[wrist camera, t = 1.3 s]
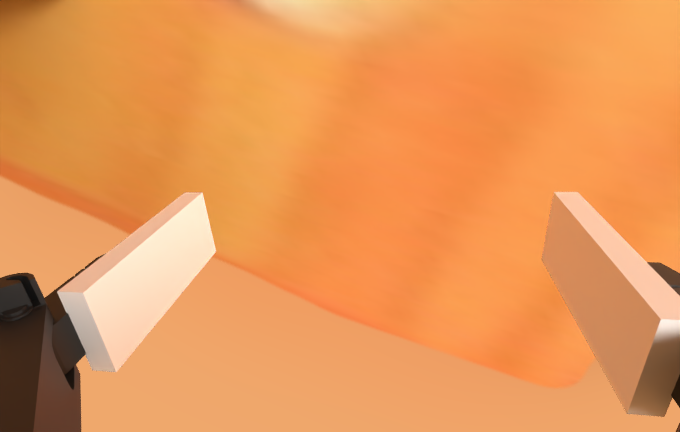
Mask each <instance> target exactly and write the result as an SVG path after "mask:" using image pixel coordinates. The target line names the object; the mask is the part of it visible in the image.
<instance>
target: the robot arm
mask: <svg viewBox="0 0 680 432" xmlns="http://www.w3.org/2000/svg"><path fill="white" fill-rule="evenodd" d="M215 252H216V249H215V245H214V240H213V236H212V232H211V227H210V223H209V219H208V214H207V210H206V206H205V201H204V197H203V193H202V192H185V193H183V194H182V195H181V196H180V197H178V198H177V199H176V200H174V201H173V202H172V203H171V204H169V205H168V206H167V207H165V208H164V209H163V210H162V211H160V212H159V213H158V214H156V215H155V216H154V217H153V218H151V219H150V220H149V221H147V222H146V223H145V224H143V225H142V226H141V227H140V228H138V229H137V230H136V231H134V232H133V233H132V234H131V235H129V236H128V237H127V238H125V239H124V240H123V241H122V242H120V243H119V244H118V245H116V246H115V247H114V248H113V249H111V250H110V251H109V252H107V253H106V254H104V255H102V256H100V257H98V258H96V259H95V260H94V261H92V262H91V263H90V264H89V265H87V266H86V267H85V269H82V270H81V271H79V272H78V273H77V274H76V275H75V276H73V277H72V278H70V279H69V280H67V281H66V282H65V283H64V284H62V285H61V286H60V287H58V288H57V289H56V290H54V291H53V292H52V293H51V294H49V295H48V296H47V297H45V298H44V297H43V294H42V293H41V290H40V288H39V286H38V284H37V282H36V280H35V277H34V275H32V274H29V273H17V274H12V275H8V276H5V277H2V278H0V432H81V399H80V398H81V396H80V395H81V394H80V373H79V370H78V368H77V366H76V363H77V362H78V361H79V360H80V359H81V358H82V357H83V356H84V355H86V357H87V359H88V361H89V364H90V366H91V368H92V370H96V371H109V372H117V371H118V369H119V368H120V367H121V366H122V365H123V363H124V362H125V361H126V360H127V359H128V357H129V356H130V355H131V354H132V353H133V351H134V350H135V349H136V348H137V346H138V345H139V344H140V343H141V342H142V340H143V339H144V338H145V337H146V336H147V334H148V333H149V332H150V331H151V330H152V328H153V327H154V326H155V325H156V323H157V322H158V321H159V320H160V319H161V318H162V316H163V315H164V314H165V313H166V311H167V310H168V309H169V308H170V307H171V305H172V304H173V303H174V302H175V301H176V299H177V298H178V297H179V296H180V295H181V293H182V292H183V291H184V290H185V289H186V287H187V286H188V285H189V284H190V282H191V281H192V280H193V279H194V278H195V276H196V275H197V274H198V273H199V271H200V270H201V269H202V268H203V267H204V266H205V264H206V263H207V262H208V261H209V260H210V258H211V257H212V256H213V255H214V253H215ZM542 261H543V263H544V265H545V267H546V269H547V270H548V272H549V274H550V276H551V278H552V279H553V281H554V283H555V285H556V287H557V289H558V290H559V292H560V294H561V296H562V298H563V299H564V301H565V303H566V305H567V307H568V308H569V310H570V312H571V314H572V316H573V317H574V319H575V321H576V323H577V325H578V326H579V328H580V330H581V332H582V334H583V335H584V337H585V339H586V341H587V343H588V344H589V346H590V348H591V350H592V352H593V353H594V355H595V357H596V359H597V361H598V362H599V364H600V366H601V368H602V369H603V371H604V373H605V375H606V377H607V379H608V380H609V382H610V384H611V386H612V388H613V389H614V391H615V393H616V395H617V397H618V398H619V400H620V402H621V404H622V405H623V407H624V409H625V411H626V413H627V414H638V415H649V416H650V415H651V416H661V417H664V416H665V414H666V412H667V409H668V407H669V404H670V402H671V400H672V397H673V399H674V400H675V401H676V403H677V405H678V406H679V407H680V273H678V272H676V271H674V270H672V269H671V268H669V267H667V266H665V265H663V264H661V263H652V262H646V261H645V260H644V259H643V258H642V257H641V256H640V255H639V254H638V253H637V252H636V251H635V250H634V249H633V248H632V247H631V246H630V245H629V244H628V243H627V242H626V241H625V240H624V239H623V238H622V237H621V236H620V235H619V234H618V233H617V232H616V231H615V230H614V229H613V228H612V227H611V225H610V224H609V223H608V222H607V221H606V220H605V219H604V218H603V217H602V216H601V215H600V214H599V213H598V212H597V211H596V210H595V209H594V208H593V207H592V206H591V205H590V204H589V203H588V202H587V201H586V200H585V199H584V198H583V197H582V196H581V195H580V194H579V193H578V192H554V193H553V199H552V204H551V210H550V215H549V221H548V226H547V232H546V237H545V243H544V248H543V254H542ZM676 432H680V423H679V426H678V428H677V430H676Z"/></svg>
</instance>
